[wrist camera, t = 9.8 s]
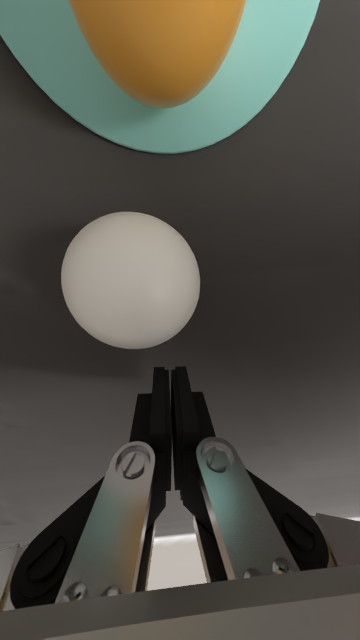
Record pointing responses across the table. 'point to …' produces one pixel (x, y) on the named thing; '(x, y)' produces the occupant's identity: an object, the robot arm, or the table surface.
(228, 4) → the orange ball
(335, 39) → the table surface
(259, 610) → the robot arm
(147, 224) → the white ball
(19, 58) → the teal plate
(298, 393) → the table surface
